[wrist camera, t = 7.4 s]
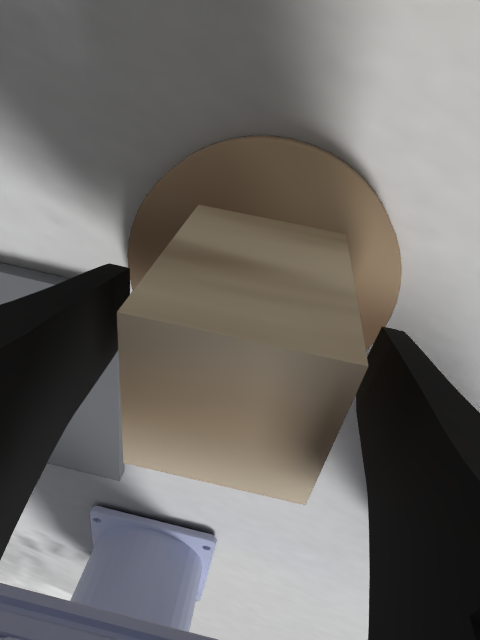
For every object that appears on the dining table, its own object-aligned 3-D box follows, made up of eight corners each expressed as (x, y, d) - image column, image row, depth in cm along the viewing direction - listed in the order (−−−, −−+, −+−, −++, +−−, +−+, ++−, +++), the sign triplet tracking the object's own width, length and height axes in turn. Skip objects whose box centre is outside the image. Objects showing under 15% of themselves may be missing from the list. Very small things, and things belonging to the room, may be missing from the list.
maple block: (308, 349, 14) (305, 505, 9) (188, 323, 14) (123, 462, 10) (346, 234, 12) (368, 366, 7) (198, 204, 12) (116, 312, 7)
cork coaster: (345, 393, 16) (346, 408, 16) (135, 344, 17) (127, 356, 16) (448, 172, 11) (457, 180, 10) (138, 105, 11) (128, 108, 11)
